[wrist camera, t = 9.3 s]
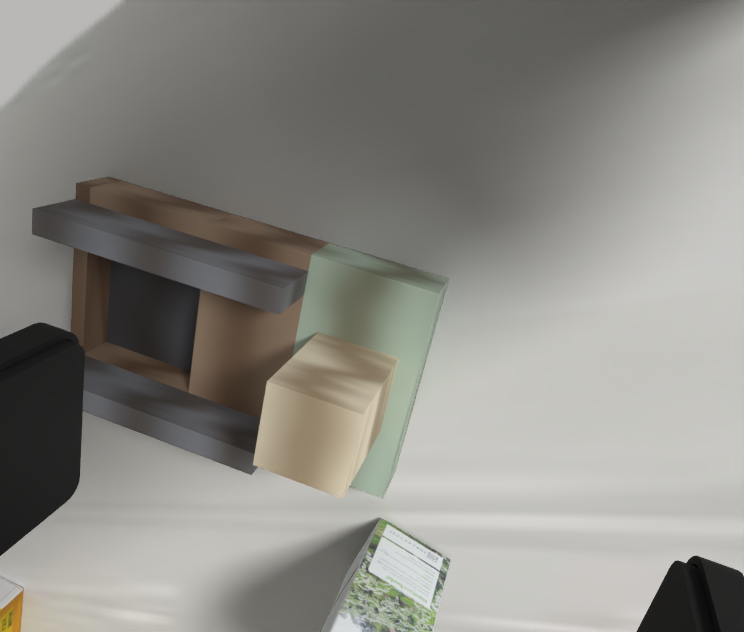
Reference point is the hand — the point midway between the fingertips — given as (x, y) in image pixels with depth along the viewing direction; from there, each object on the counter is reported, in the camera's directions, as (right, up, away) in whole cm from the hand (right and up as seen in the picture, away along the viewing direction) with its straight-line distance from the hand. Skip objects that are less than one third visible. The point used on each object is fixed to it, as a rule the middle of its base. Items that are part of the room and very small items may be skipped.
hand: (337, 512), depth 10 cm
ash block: (-1, -1, +28) cm, 29 cm away
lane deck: (-7, +2, +33) cm, 33 cm away
